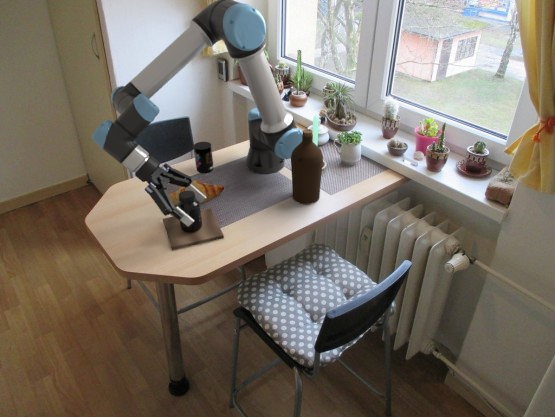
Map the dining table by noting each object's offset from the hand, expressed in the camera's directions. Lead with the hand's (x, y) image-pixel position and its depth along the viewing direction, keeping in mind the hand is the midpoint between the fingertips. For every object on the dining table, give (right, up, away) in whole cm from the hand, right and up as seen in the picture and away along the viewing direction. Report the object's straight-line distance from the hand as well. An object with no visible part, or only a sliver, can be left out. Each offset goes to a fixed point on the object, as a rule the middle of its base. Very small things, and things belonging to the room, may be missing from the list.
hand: (197, 211), depth 140 cm
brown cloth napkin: (-2, -6, +4) cm, 8 cm away
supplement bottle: (-3, -5, +4) cm, 7 cm away
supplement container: (-4, +16, +37) cm, 40 cm away
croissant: (-4, +4, +20) cm, 21 cm away
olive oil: (+34, +5, +20) cm, 40 cm away
